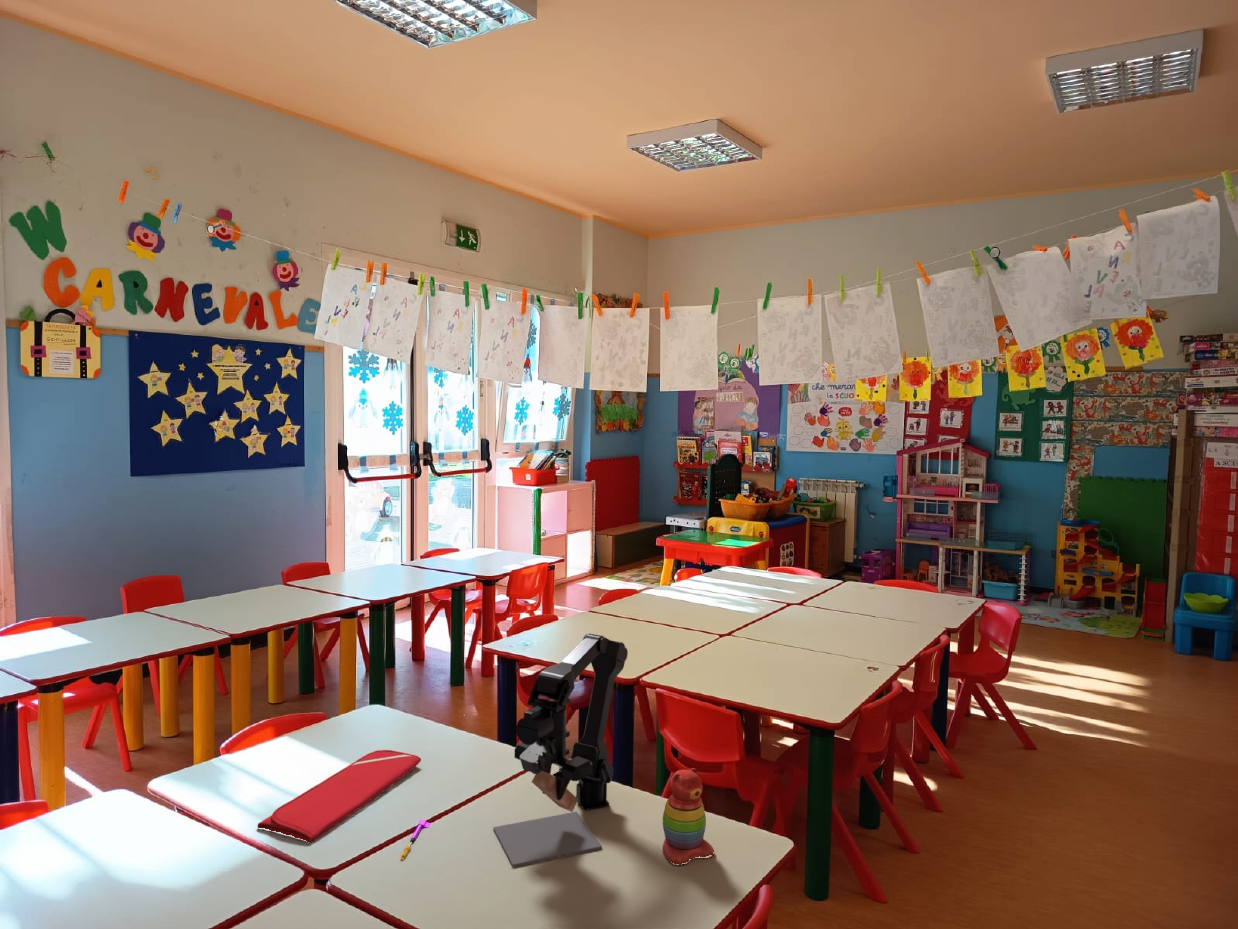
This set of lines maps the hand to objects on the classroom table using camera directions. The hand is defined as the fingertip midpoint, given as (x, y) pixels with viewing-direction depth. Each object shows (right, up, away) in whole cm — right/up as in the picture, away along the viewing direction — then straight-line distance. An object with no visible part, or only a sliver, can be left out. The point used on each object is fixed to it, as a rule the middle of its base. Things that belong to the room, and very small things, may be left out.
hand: (552, 796), depth 184 cm
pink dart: (-30, -10, -2) cm, 31 cm away
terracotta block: (+3, -3, +5) cm, 7 cm away
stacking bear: (+29, -11, -4) cm, 31 cm away
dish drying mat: (-52, -8, +17) cm, 55 cm away
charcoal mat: (-1, -9, 0) cm, 9 cm away
